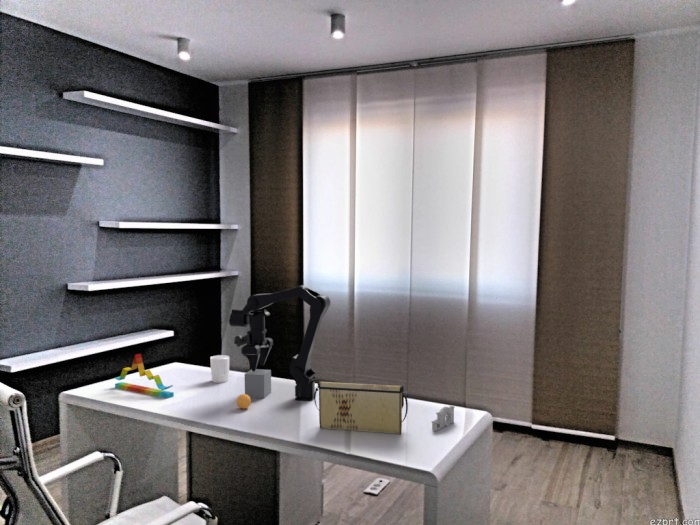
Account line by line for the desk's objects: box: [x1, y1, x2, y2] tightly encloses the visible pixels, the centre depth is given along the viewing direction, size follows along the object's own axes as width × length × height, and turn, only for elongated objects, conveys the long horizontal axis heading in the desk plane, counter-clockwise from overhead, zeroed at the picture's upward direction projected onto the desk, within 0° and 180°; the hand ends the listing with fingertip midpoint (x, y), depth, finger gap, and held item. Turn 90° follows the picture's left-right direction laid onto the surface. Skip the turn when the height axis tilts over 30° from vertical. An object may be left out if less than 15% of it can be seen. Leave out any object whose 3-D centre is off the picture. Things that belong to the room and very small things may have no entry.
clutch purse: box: [313, 381, 409, 435], centre depth 178 cm, size 30×7×15 cm, turn 77°
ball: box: [236, 393, 252, 410], centre depth 200 cm, size 5×5×5 cm
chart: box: [114, 353, 175, 399], centre depth 222 cm, size 30×3×15 cm, turn 59°
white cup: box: [209, 354, 230, 384], centre depth 238 cm, size 8×8×10 cm
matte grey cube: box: [244, 368, 272, 399], centre depth 217 cm, size 8×8×9 cm
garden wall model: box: [431, 404, 455, 432], centre depth 180 cm, size 12×2×6 cm, turn 141°
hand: (258, 368), depth 216 cm, fingers open, 9 cm apart
